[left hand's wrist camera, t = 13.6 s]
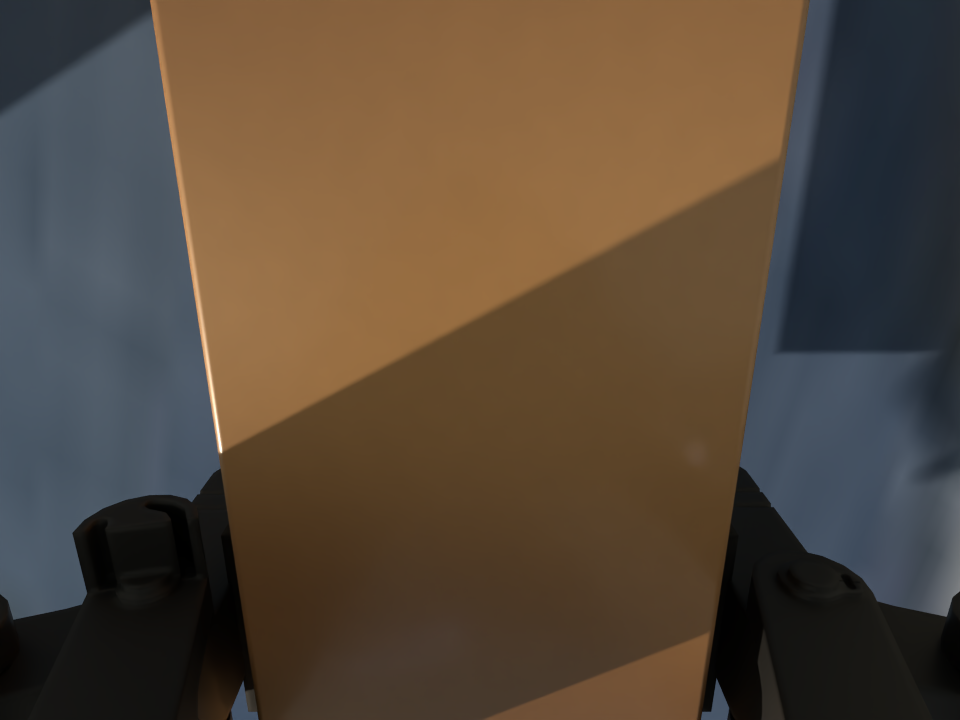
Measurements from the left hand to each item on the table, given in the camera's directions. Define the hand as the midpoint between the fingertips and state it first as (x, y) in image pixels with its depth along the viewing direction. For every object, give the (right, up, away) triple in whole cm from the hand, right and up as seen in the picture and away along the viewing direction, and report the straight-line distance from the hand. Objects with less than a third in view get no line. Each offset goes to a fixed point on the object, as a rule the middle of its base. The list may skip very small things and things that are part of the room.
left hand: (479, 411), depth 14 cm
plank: (0, +23, -8) cm, 24 cm away
